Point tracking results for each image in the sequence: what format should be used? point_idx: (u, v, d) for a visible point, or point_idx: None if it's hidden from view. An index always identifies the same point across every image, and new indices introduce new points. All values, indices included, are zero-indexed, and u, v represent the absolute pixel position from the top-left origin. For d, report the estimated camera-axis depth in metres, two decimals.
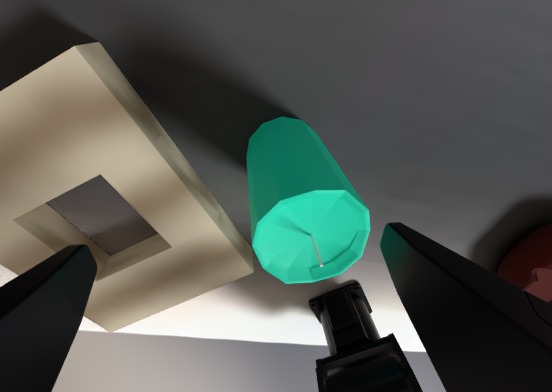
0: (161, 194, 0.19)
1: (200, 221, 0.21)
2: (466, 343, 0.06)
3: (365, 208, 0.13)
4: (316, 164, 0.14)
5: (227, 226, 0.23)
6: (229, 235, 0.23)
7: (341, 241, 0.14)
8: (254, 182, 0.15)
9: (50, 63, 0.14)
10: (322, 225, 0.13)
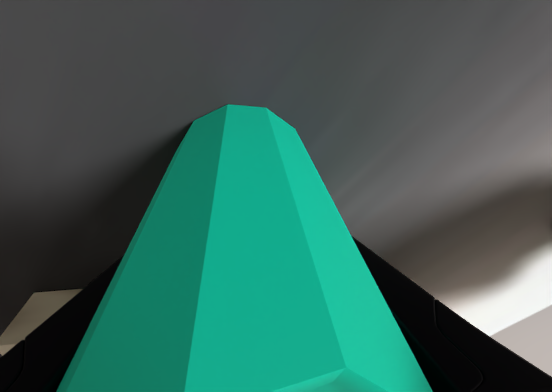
0: None
1: None
2: None
3: None
4: (110, 289, 0.05)
5: None
6: None
7: None
8: None
9: None
10: None
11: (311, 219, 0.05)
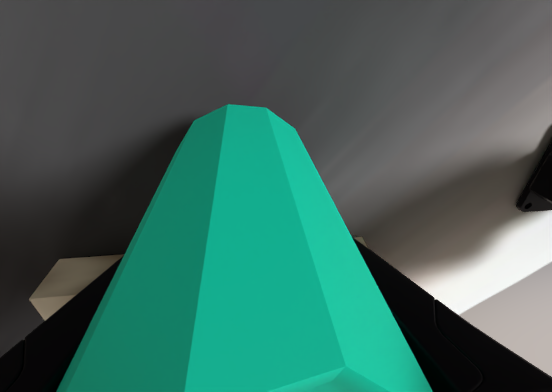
0: None
1: None
2: None
3: None
4: (110, 288, 0.05)
5: None
6: None
7: None
8: None
9: (44, 317, 0.16)
10: None
11: (310, 218, 0.05)
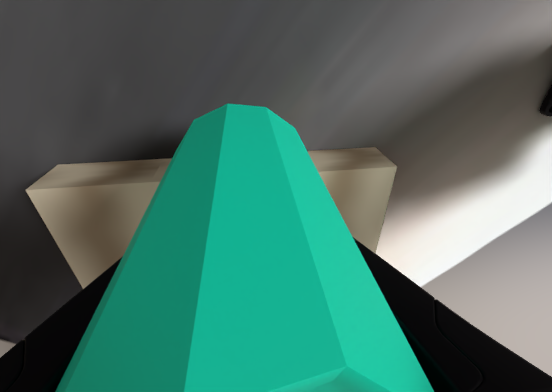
0: None
1: None
2: None
3: None
4: (110, 288, 0.05)
5: None
6: (319, 166, 0.16)
7: None
8: None
9: (42, 216, 0.15)
10: None
11: (312, 218, 0.05)
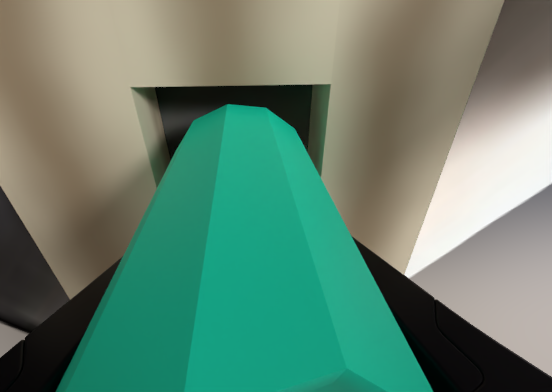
0: (209, 9, 0.09)
1: None
2: None
3: None
4: (109, 289, 0.05)
5: None
6: None
7: None
8: None
9: None
10: None
11: (311, 219, 0.05)
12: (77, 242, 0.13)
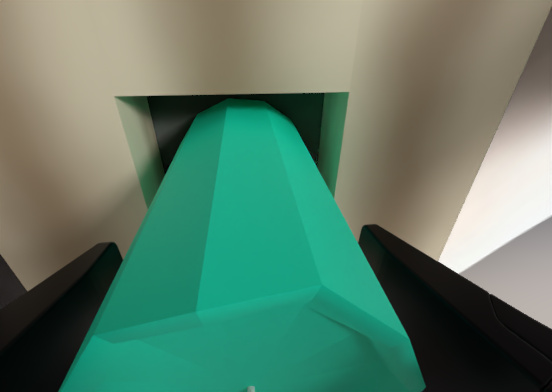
0: (206, 4, 0.08)
1: None
2: (433, 347, 0.06)
3: (183, 316, 0.03)
4: (130, 250, 0.06)
5: None
6: None
7: (319, 342, 0.04)
8: None
9: None
10: (227, 370, 0.05)
11: (301, 189, 0.06)
12: (59, 268, 0.12)
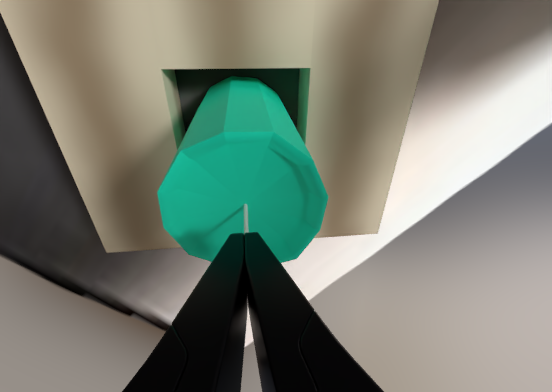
0: (220, 12, 0.13)
1: None
2: (262, 367, 0.05)
3: (218, 135, 0.08)
4: (181, 144, 0.11)
5: None
6: None
7: (277, 173, 0.10)
8: None
9: None
10: (234, 189, 0.10)
11: (273, 113, 0.11)
12: (113, 195, 0.17)
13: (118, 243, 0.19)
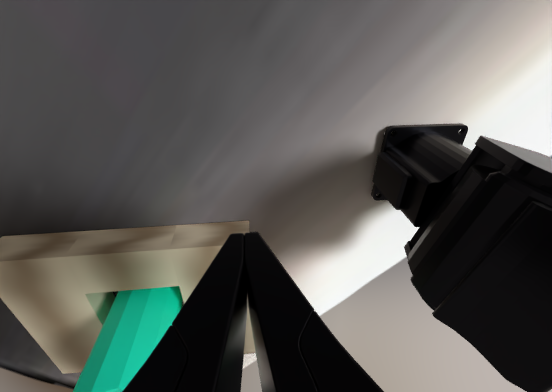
0: (115, 270, 0.22)
1: (157, 258, 0.21)
2: (262, 367, 0.05)
3: None
4: (84, 366, 0.20)
5: (190, 235, 0.22)
6: (194, 241, 0.22)
7: None
8: None
9: None
10: None
11: (136, 347, 0.20)
12: (63, 347, 0.26)
13: (70, 368, 0.28)
